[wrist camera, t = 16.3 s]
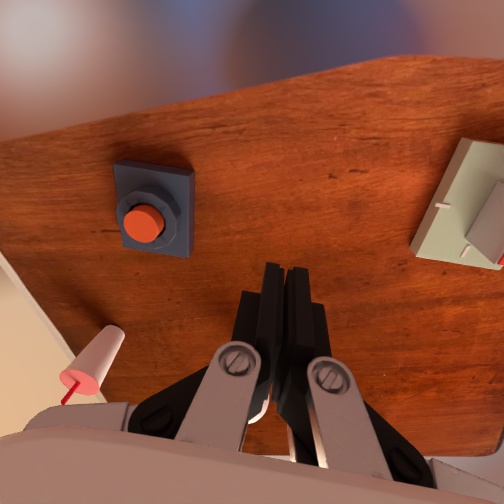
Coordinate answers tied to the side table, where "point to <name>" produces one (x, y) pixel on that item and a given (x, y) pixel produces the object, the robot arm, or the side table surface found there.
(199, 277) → the side table surface
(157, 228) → the button
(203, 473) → the robot arm
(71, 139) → the side table surface
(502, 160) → the panel
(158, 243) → the button block
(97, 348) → the cup
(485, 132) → the side table surface
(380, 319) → the side table surface
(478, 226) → the tap handle
